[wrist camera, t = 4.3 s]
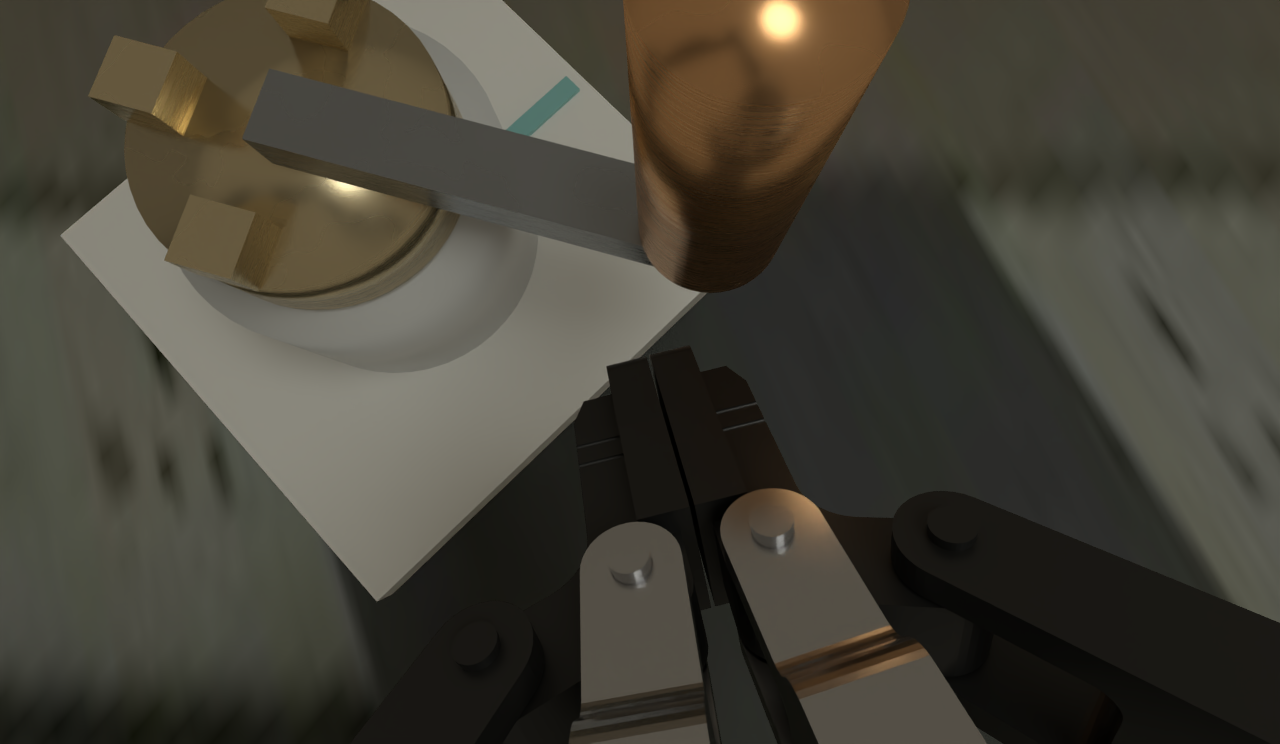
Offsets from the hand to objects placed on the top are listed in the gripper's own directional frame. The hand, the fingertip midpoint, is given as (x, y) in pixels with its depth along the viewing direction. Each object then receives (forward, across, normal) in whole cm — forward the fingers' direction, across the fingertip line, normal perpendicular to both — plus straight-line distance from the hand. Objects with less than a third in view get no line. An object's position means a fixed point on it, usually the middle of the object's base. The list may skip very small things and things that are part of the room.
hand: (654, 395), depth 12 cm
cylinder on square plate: (+18, +8, +4) cm, 20 cm away
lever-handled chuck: (+11, +4, 0) cm, 12 cm away
